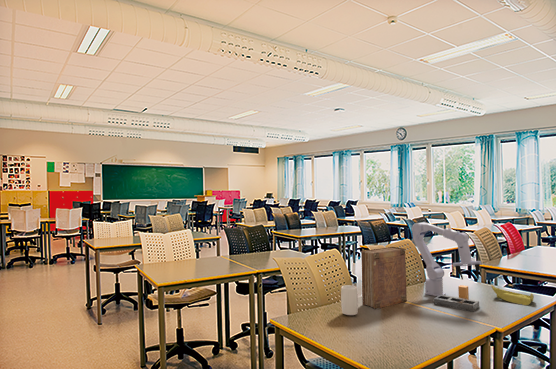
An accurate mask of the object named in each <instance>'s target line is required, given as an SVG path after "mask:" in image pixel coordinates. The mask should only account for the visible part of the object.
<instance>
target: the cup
mask: <svg viewBox="0 0 556 369" xmlns="http://www.w3.org/2000/svg"><path fill="white" fill-rule="evenodd" d="M358 294H359V293H358V288H357V286H356V285H352V284H351V285H350V284H349V285H348V284H347V285H346V284H345V285H342V286H341V287H340V303H341V305H340V306H341V313H342V314H344V315H347V316H354V315H357V314H358V311H359V308H358V307H359V299H358V297H359V296H358Z"/></svg>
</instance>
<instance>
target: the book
mask: <svg viewBox="0 0 556 369" xmlns="http://www.w3.org/2000/svg"><path fill="white" fill-rule="evenodd" d="M360 252H361V254H360V255H361V256H360V257H361V261H360V262H361V294H362V295H361V296H362V297H361V298H362V299H361V302H362V306H368V307H371V308H373V309H374V310H379V309H383V308H386V306H387V307H391V306H394V305H397V304H401V303H405V302H407V301H408V299H407V298H408V297H407V272H406V271H407V269H406V268H407V267H406V263H407V262H406V260H407V259H406V248H403V247H396V246H390V247H389V246H387V247H381V248H374V249H365V250H361V251H360ZM382 307H383V308H382Z"/></svg>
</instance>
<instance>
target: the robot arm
mask: <svg viewBox="0 0 556 369" xmlns="http://www.w3.org/2000/svg"><path fill="white" fill-rule="evenodd" d="M429 231H430V232H433V233H436V234H439V235H442V236H443V238H445V239H447V240H451V241H453V242H455V243H456V245H457V250H458V254H459V259H460V261H459V262H452V267H453V268H455V269H456V271H457V273H458V275H459V276H460V279H461V280H464V277H463V273H462V269H461V267H467V266H468V267H469V266H474V270H475V275H476V279H477V280H478V279H479V271H480V266H481V265H483V264H482V261H481V260H472V259H473V258H472V254H471V249H470V245H469V240H470V236H469V235H468V233H466V232H460V231H459V230H457V231H456V230H453V229H452V228H451V227H448V228H447V227H446V228H442V227H439V226H438V225H434V224H432V223H429V222H425V221H423V222H415V223H414V224H413V225H412V226H411V233H412V239H413V242H414V244H415V246H416V248H417V249H418V251H419V254H420V256H421V258H422V259H423V261H424V263H425V265H426V266H425V267H426V268H425V270H426V275H427V277H428V278H426V279H425V282H424V289H425V293H424V294H425V295H429V296H434V297H437V296H439V295H447V294H446V293H445V292H444V287H443V286H444V284H443V281H444V280H443V278H444V276H445V270H444V269H443V268H442V266H440V264H439V263H437V262H436V261H435V259H434V257H433V255H432V253H431V252H430V249H429V248H428V245H427V244H426V242H425V240H424V237H425V235H426V234H427V232H429Z"/></svg>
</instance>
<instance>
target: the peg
mask: <svg viewBox="0 0 556 369" xmlns="http://www.w3.org/2000/svg"><path fill="white" fill-rule="evenodd" d="M469 294H470V293H469V285H463V284H460V285H458V298H463V299H469V300H470V298H469V296H470V295H469Z"/></svg>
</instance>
